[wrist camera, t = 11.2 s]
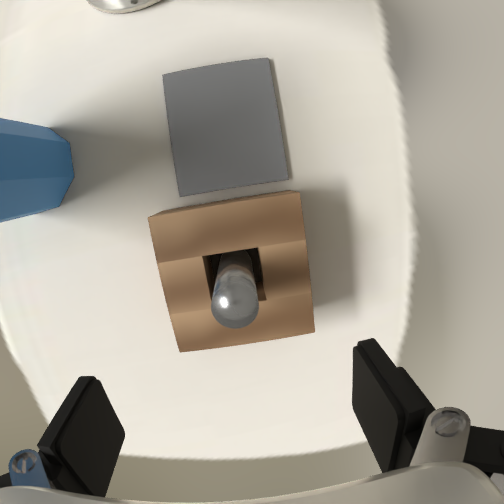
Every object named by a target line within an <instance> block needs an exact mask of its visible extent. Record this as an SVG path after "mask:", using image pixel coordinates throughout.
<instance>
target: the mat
mask: <svg viewBox="0 0 504 504" xmlns="http://www.w3.org/2000/svg"><path fill="white" fill-rule="evenodd" d="M162 76H163V84H164V93H165V101H166V109H167V116H168V124H169V131H170V138H171V145H172V152H173V158H174V165H175V171H176V177H177V183H178V189H179V195H180V197H183V196H188V195H194V194H199V193H205V192H211V191H217V190H223V189H229V188H235V187H241V186H248V185H254V184H261V183H268V182H275V181H282V180H289V179H288V172H287V165H286V158H285V152H284V146H283V139H282V133H281V127H280V121H279V115H278V109H277V103H276V97H275V92H274V86H273V81H272V75H271V70H270V64H269V59H268V58H259V59H250V60H242V61H235V62H228V63H221V64H215V65H209V66H203V67H198V68H192V69H187V70H182V71H178V72H173V73H169V74H164V75H162Z"/></svg>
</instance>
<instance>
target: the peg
mask: <svg viewBox="0 0 504 504" xmlns="http://www.w3.org/2000/svg"><path fill="white" fill-rule="evenodd" d="M211 311H212V314H213V316H214V318H215V319H216V321H217V322H218V323H220V324H221V325H223V326H225V327H227V328H232V329H238V328H243V327H245V326H248V325H249V324H250V323H252V322H253V321H254V320H255V318H256V316H257V314H258V311H259V302H258V296H257V291H256V285H255V279H254V273H253V267H252V261H251V257H250V255H249V254H248V253H247V252H246V251H245V250H237V251H231V252H225V253H223V254H222V256H221V258H220V263H219V267H218V272H217V277H216V282H215V287H214V292H213V297H212V301H211Z"/></svg>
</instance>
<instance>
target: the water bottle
mask: <svg viewBox="0 0 504 504" xmlns="http://www.w3.org/2000/svg"><path fill="white" fill-rule="evenodd" d="M73 178H74V172H73V165H72V158H71V151H70V143H69V142H67V141H66V140H65V139H63V138H62V137H60V136H59V135H58V134H56V133H55V132H54V131H52V130H51V129H49V128H48V127H43V126H38V125H33V124H28V123H23V122H18V121H13V120H8V119H2V118H0V223H1V222H4V221H8V220H12V219H16V218H20V217H24V216H29V215H33V214H36V213H40V212H43V211H46V210H49V209H53V208H56V207H59V206H60V203H61V201H62V199H63V197H64V195H65V193H66V191H67V190H68V188H69V186H70V184H71V182H72V180H73Z"/></svg>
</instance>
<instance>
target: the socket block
mask: <svg viewBox="0 0 504 504" xmlns="http://www.w3.org/2000/svg"><path fill="white" fill-rule="evenodd" d="M148 222H149V227H150V232H151V237H152V242H153V246H154V251H155V256H156V260H157V265H158V269H159V274H160V278H161V282H162V287H163V291H164V295H165V299H166V303H167V307H168V311H169V315H170V319H171V322H172V326H173V330H174V334H175V337H176V341H177V344H178V348H179V351H180V352H188V351H197V350H205V349H213V348H221V347H228V346H236V345H243V344H249V343H256V342H262V341H269V340H275V339H281V338H286V337H292V336H298V335H303V334H308V333H314V332H315V326H314V314H313V303H312V293H311V283H310V273H309V264H308V255H307V246H306V238H305V230H304V222H303V214H302V206H301V199H300V193H299V192H295V191H291V190H288V191H281V192H274V193H267V194H260V195H254V196H247V197H241V198H234V199H228V200H222V201H216V202H210V203H204V204H199V205H193V206H187V207H182V208H176V209H171V210H166V211H161V212H159V213H157V214H155V215H152V216H150V217H148ZM256 247H257V250H258V256H259V263H260V269H261V276H262V282H256V283H255V285H256V291H257V296H258V302H259V311H258V314H257V316H256V318H255V320H254V321H253V322H252V323H250V324H249V325H248V326H245V327H243V328H238V329H232V328H227V327H225V326H223V325H221V324H220V323H218V322H217V321H216V319H215V318H214V316H213V314H212V311H211V301H212V297H213V292H214V287H215V279H214V274H213V269H212V264H211V258H210V255H212V254H219V253H225V252H231V251H237V250H244V249H250V248H256Z"/></svg>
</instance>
